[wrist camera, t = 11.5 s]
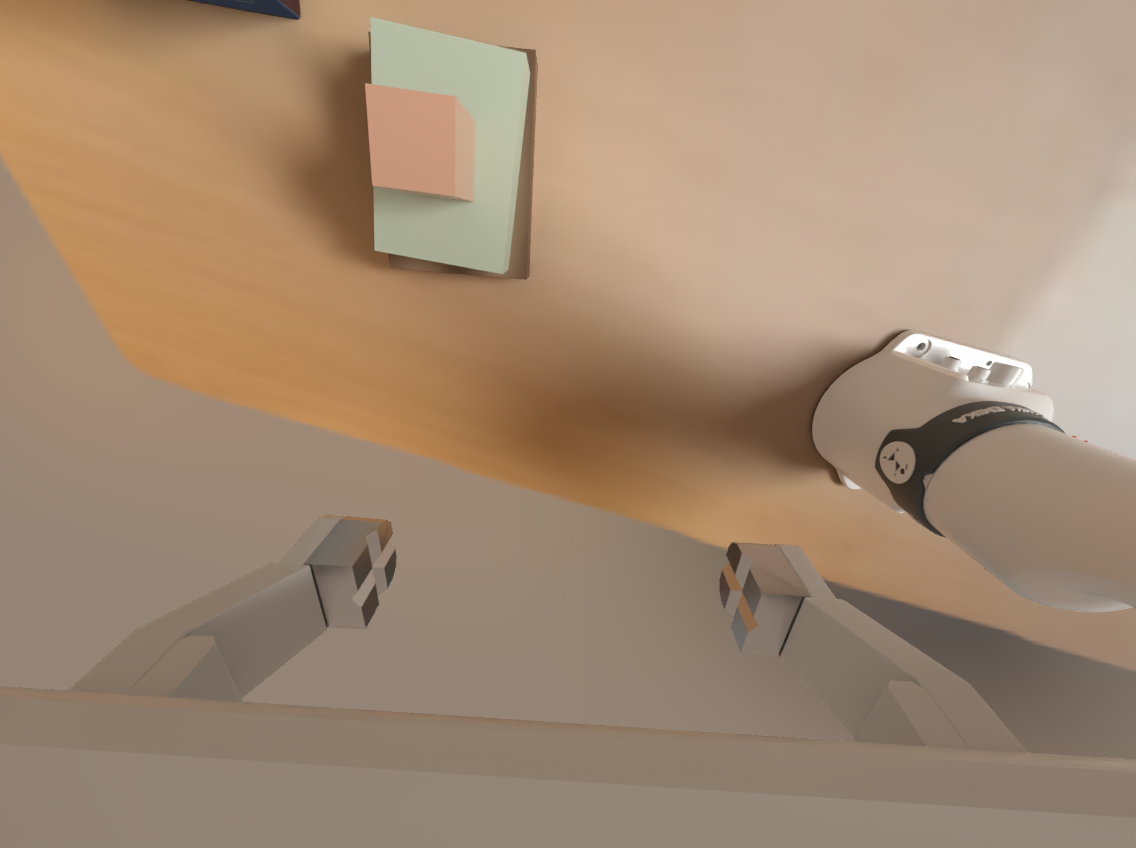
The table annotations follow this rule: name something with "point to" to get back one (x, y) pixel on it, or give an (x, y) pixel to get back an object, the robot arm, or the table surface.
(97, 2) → the table surface
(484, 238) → the tower top
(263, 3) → the protein box
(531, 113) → the tower base
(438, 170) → the block
